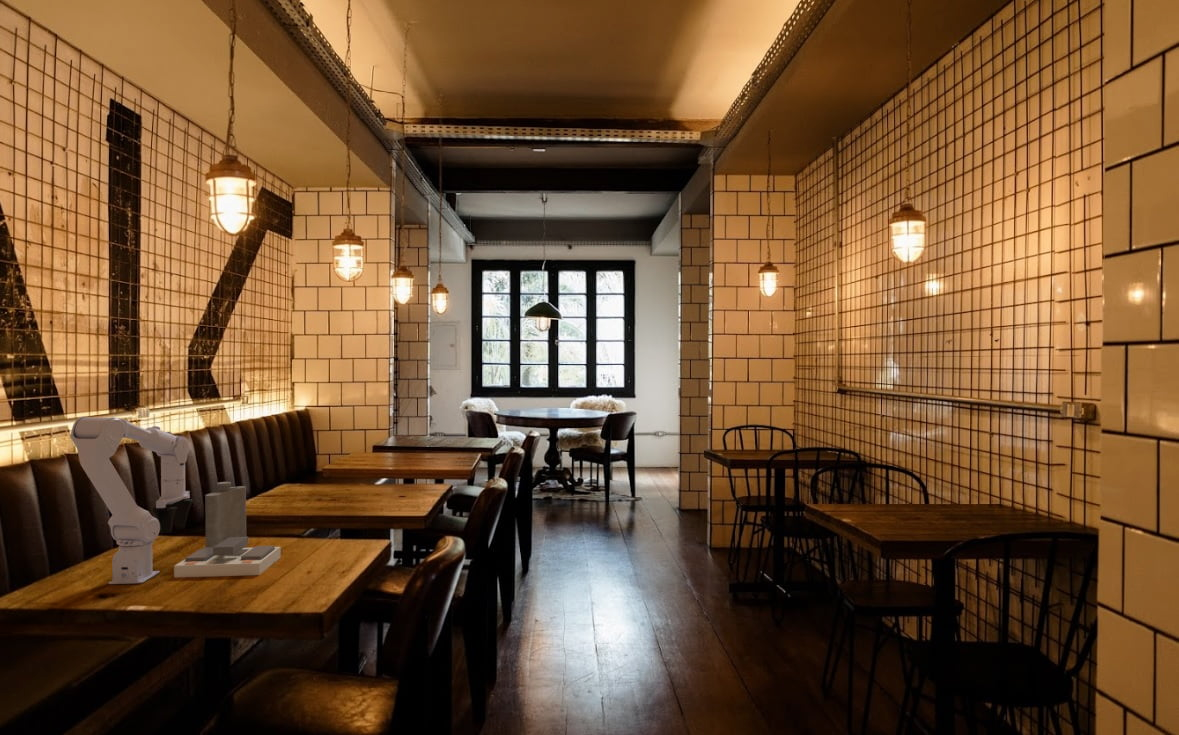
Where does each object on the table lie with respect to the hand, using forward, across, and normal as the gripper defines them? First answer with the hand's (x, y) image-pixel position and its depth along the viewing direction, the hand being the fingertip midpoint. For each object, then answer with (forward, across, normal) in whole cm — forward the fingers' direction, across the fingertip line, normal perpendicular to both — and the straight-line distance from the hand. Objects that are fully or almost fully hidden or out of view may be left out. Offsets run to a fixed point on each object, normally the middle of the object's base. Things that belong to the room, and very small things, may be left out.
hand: (173, 529), depth 203 cm
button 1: (+8, -4, -10) cm, 13 cm away
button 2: (+8, -3, -24) cm, 25 cm away
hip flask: (+10, +14, -8) cm, 18 cm away
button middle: (+5, -3, -17) cm, 18 cm away
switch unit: (+9, -3, -16) cm, 19 cm away
